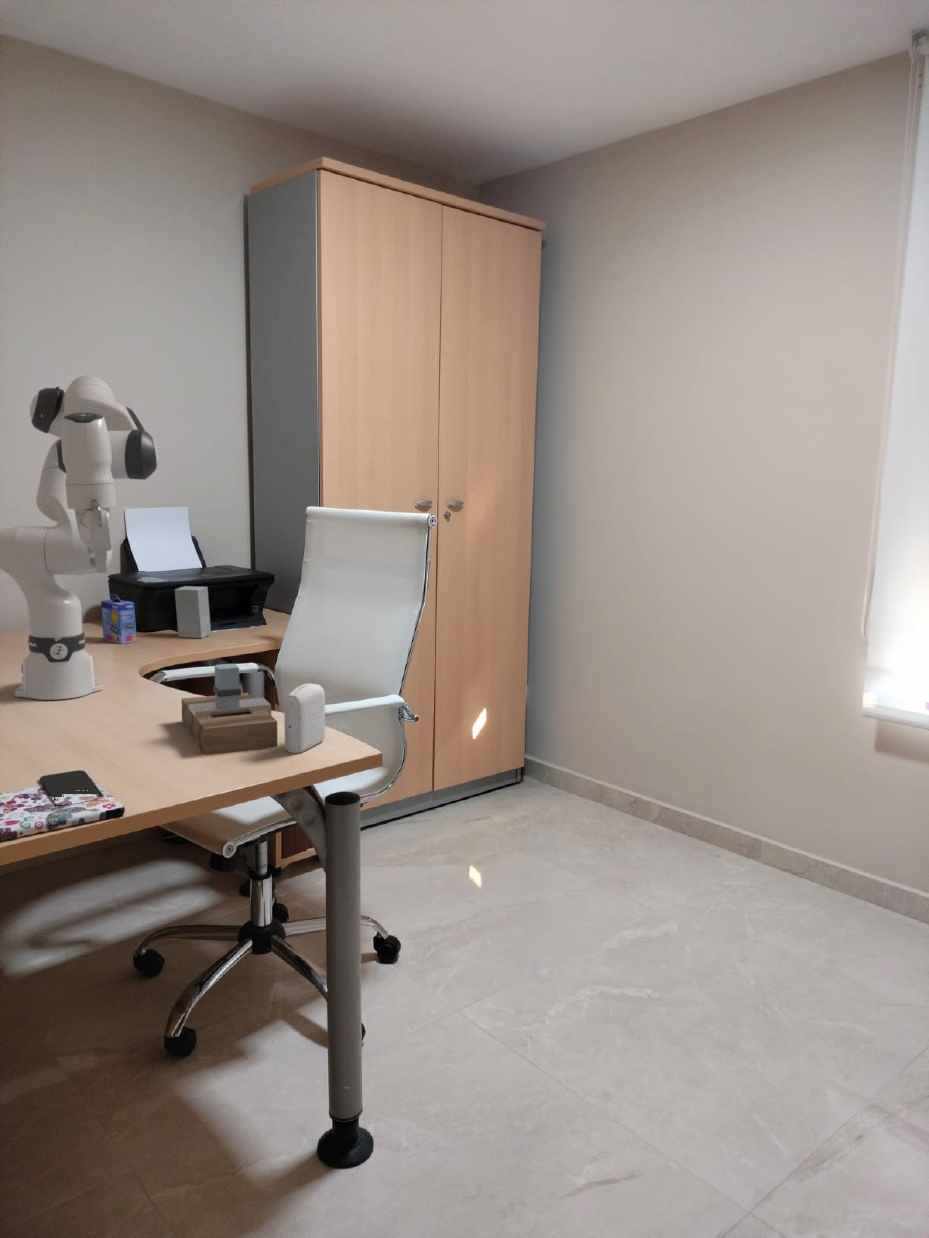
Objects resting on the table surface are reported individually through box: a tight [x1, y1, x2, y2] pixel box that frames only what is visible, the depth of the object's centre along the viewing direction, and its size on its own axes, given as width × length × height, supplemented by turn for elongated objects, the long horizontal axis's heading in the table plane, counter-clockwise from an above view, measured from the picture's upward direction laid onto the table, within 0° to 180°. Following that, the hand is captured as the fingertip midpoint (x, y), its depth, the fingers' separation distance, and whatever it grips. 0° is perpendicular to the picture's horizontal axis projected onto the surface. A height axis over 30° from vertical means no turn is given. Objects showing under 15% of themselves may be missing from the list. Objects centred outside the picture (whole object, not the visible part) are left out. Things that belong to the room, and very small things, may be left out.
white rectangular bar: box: [189, 697, 272, 717], centre depth 184 cm, size 6×15×4 cm, turn 117°
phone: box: [39, 769, 104, 801], centre depth 151 cm, size 7×1×15 cm
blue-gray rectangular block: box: [212, 663, 242, 708], centre depth 183 cm, size 5×5×8 cm
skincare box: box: [174, 585, 212, 639], centre depth 283 cm, size 8×7×16 cm
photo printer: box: [283, 683, 326, 754], centre depth 177 cm, size 10×4×12 cm, turn 158°
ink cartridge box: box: [100, 593, 137, 645], centre depth 273 cm, size 10×6×14 cm, turn 54°
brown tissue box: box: [181, 692, 278, 755], centre depth 184 cm, size 24×14×5 cm, turn 27°
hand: (98, 569), depth 177 cm, fingers open, 8 cm apart
